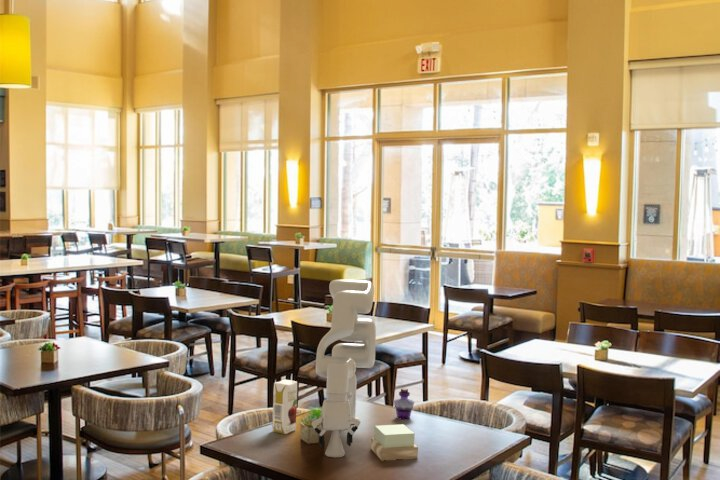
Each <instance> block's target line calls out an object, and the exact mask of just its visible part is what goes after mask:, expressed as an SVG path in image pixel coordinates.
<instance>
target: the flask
mask: <svg viewBox="0 0 720 480" xmlns="http://www.w3.org/2000/svg"><path fill="white" fill-rule="evenodd" d="M340 432H341V430H331V436H330V438H329V442H328V444H327V447H326V450H325V452H324V455H325V456H326V457H329V458H343V457H344V456H346V451H345V448H344V446H343V443H342V439H341V434H340Z"/></svg>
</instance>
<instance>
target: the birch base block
mask: <svg viewBox="0 0 720 480" xmlns="http://www.w3.org/2000/svg"><path fill="white" fill-rule="evenodd" d="M370 439H371V444H370V446H371V448H370V449H371V450H372V452H373V453H374V454H375V455H376V456H377V458H379V459H380V461H384V460H386V461H397V460H396V459H403V460H415V459H414V458H418V457H419V456H418V454H419V453H418V451H419V447H418V446H417V445H416V444H415V443H414V446H407V447H391V448H384V447H383V446H382V445H381V444H380V443H379V442H378V441H377V440H376V439H375V438H374V437H371V438H370Z"/></svg>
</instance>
